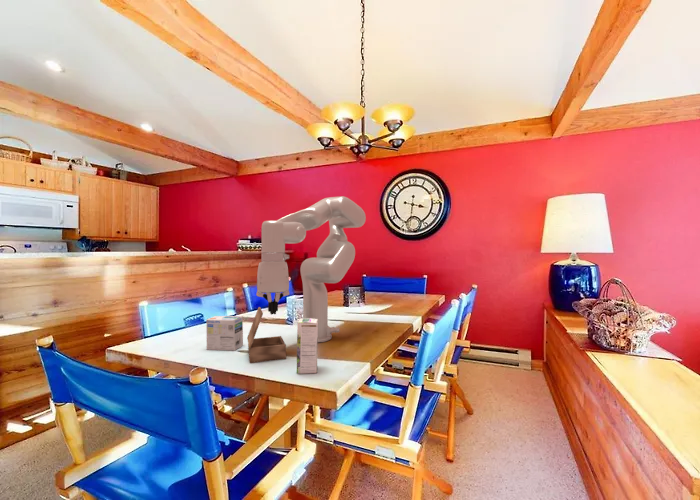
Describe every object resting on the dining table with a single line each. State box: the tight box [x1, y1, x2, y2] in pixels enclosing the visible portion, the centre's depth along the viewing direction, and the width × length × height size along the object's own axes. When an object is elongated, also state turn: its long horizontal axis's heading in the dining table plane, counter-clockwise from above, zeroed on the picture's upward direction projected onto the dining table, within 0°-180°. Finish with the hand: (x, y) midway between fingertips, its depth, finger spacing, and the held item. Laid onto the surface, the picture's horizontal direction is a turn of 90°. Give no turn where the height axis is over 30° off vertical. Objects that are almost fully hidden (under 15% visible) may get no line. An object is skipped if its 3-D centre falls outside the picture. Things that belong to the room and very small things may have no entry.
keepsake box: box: [247, 335, 287, 364], centre depth 106 cm, size 11×11×4 cm
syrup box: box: [296, 317, 319, 375], centre depth 94 cm, size 6×6×14 cm
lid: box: [246, 306, 264, 348], centre depth 105 cm, size 11×11×1 cm
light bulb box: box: [206, 315, 244, 351], centre depth 115 cm, size 11×7×11 cm, turn 84°
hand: (273, 313), depth 107 cm, fingers closed
